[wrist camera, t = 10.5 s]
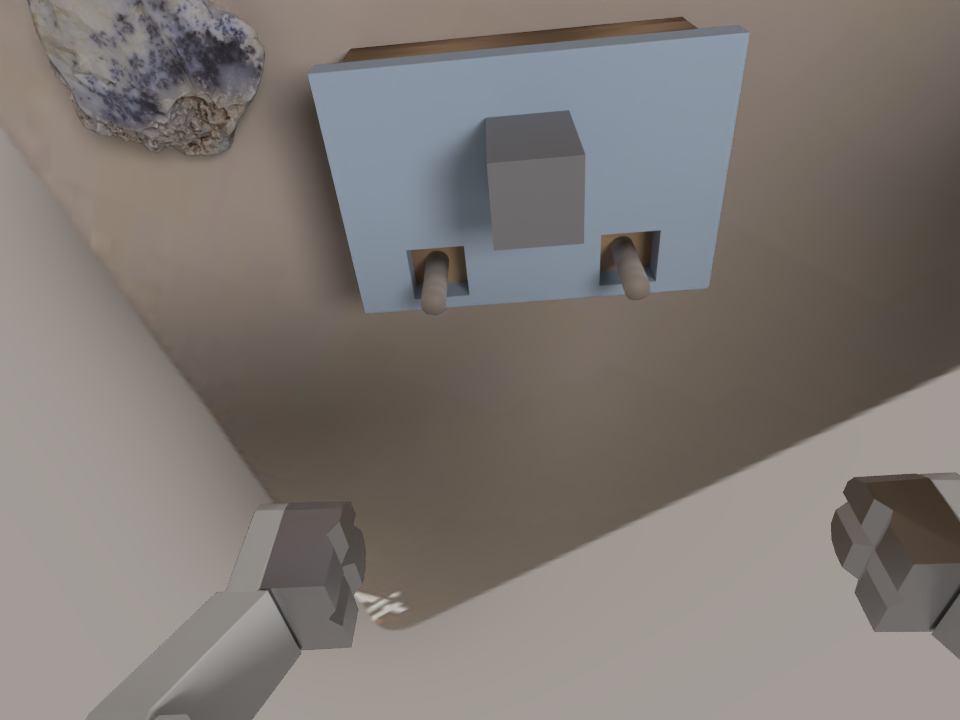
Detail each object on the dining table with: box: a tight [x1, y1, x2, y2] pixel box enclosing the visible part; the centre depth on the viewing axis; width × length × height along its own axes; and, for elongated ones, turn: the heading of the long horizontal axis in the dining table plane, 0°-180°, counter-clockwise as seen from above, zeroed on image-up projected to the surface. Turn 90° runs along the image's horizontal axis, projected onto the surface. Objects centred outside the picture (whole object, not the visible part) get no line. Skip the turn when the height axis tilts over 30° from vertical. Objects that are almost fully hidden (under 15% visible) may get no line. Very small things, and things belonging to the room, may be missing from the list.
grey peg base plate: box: [308, 25, 750, 314], centre depth 23 cm, size 15×10×6 cm, turn 95°
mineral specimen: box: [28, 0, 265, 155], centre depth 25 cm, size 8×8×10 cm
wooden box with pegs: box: [342, 17, 698, 315], centre depth 26 cm, size 14×9×8 cm, turn 95°
